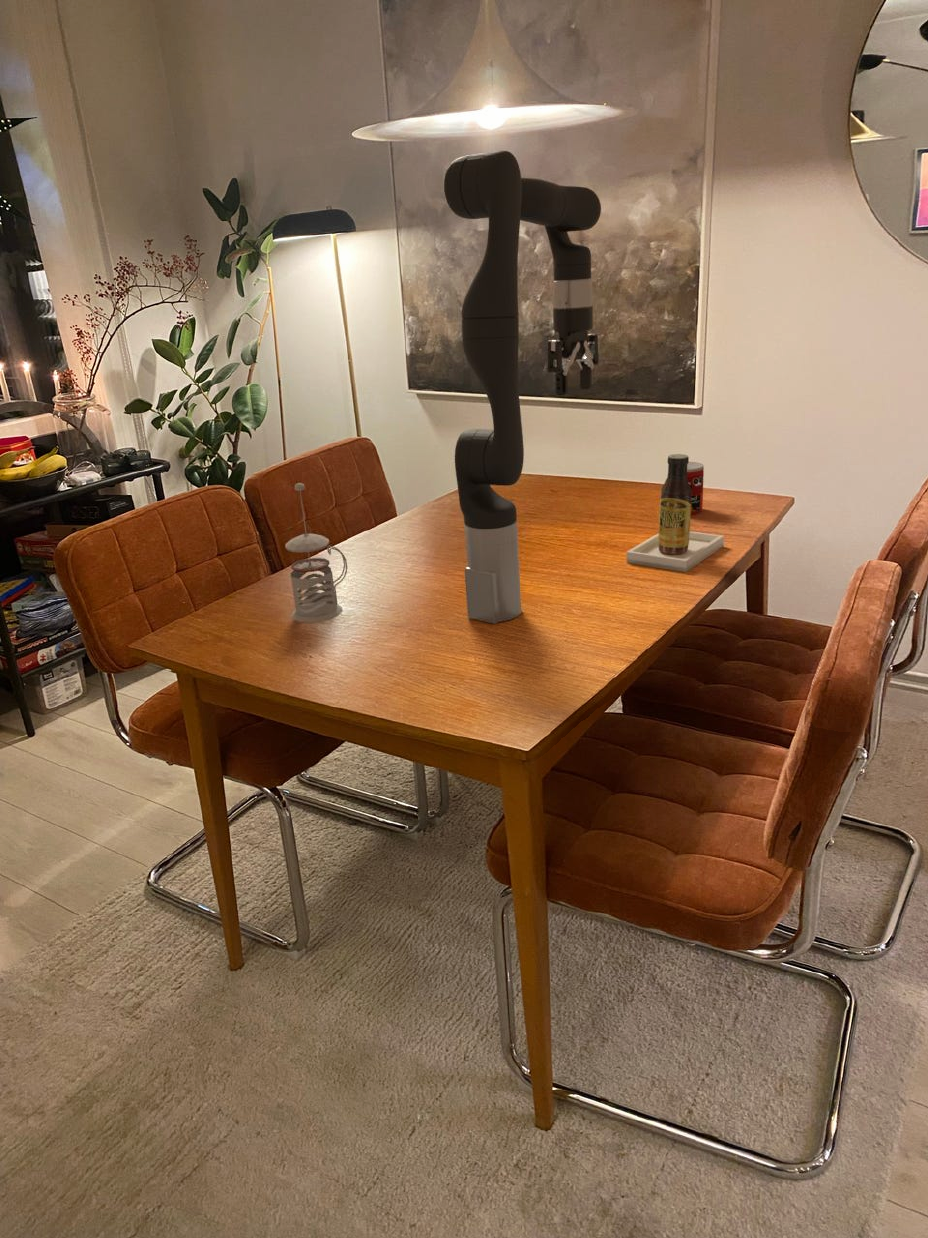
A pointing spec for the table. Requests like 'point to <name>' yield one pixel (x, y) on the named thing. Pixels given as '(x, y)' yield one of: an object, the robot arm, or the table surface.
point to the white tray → (697, 552)
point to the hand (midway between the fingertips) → (574, 391)
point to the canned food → (695, 485)
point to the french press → (315, 603)
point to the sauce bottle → (675, 507)
